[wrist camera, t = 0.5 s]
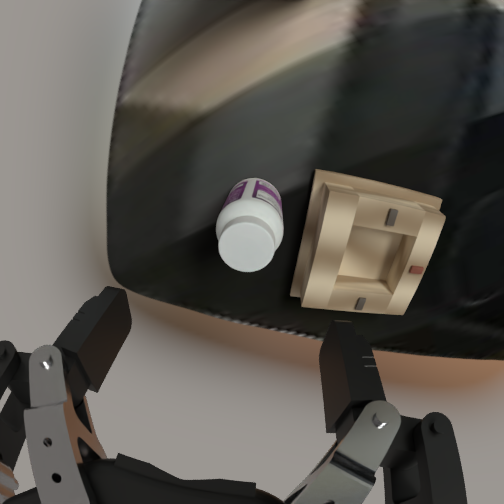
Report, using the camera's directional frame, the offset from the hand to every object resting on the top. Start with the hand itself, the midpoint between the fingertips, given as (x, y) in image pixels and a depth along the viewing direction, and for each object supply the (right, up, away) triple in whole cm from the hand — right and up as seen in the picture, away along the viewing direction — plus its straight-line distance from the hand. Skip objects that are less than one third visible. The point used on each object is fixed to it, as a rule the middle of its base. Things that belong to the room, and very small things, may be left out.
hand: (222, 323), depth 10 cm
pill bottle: (+1, +8, +18) cm, 19 cm away
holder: (+14, +3, +19) cm, 24 cm away
